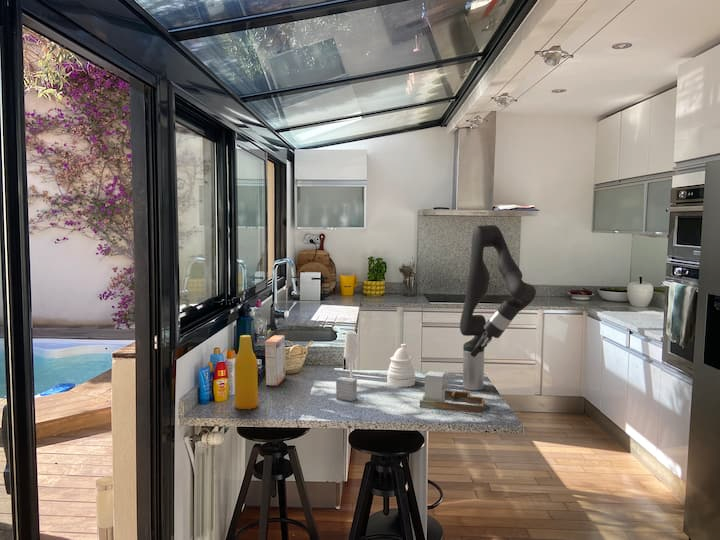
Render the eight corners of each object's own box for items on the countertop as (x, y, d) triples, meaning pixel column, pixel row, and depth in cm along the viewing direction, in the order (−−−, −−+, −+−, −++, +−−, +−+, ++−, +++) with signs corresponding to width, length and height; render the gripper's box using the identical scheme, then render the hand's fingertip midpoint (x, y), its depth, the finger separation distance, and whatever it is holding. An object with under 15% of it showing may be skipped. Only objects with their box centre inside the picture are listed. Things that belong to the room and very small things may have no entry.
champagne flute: (360, 385, 256) (360, 333, 254) (345, 386, 254) (345, 334, 252) (355, 381, 263) (355, 331, 261) (342, 382, 261) (342, 331, 259)
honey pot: (396, 377, 269) (396, 341, 267) (419, 382, 261) (420, 344, 260) (381, 383, 258) (382, 345, 257) (405, 388, 251) (405, 349, 249)
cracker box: (273, 377, 269) (273, 334, 267) (285, 378, 268) (285, 335, 266) (264, 385, 255) (264, 340, 253) (277, 386, 254) (277, 341, 253)
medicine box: (357, 398, 236) (357, 378, 236) (352, 401, 232) (352, 381, 232) (340, 396, 240) (340, 376, 239) (335, 399, 236) (335, 379, 235)
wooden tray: (427, 394, 242) (427, 388, 242) (485, 399, 235) (485, 393, 235) (419, 406, 226) (419, 400, 225) (482, 412, 219) (482, 406, 218)
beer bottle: (250, 411, 220) (249, 339, 218) (230, 408, 223) (229, 337, 221) (262, 404, 229) (261, 334, 227) (242, 401, 232) (241, 333, 230)
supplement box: (441, 407, 225) (442, 376, 224) (424, 405, 228) (424, 374, 227) (445, 401, 232) (445, 372, 231) (428, 399, 235) (428, 370, 234)
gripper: (504, 334, 214) (478, 367, 220) (506, 324, 226) (482, 355, 233) (488, 322, 215) (462, 355, 221) (491, 313, 228) (467, 344, 234)
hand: (472, 355), depth 227 cm, fingers closed
